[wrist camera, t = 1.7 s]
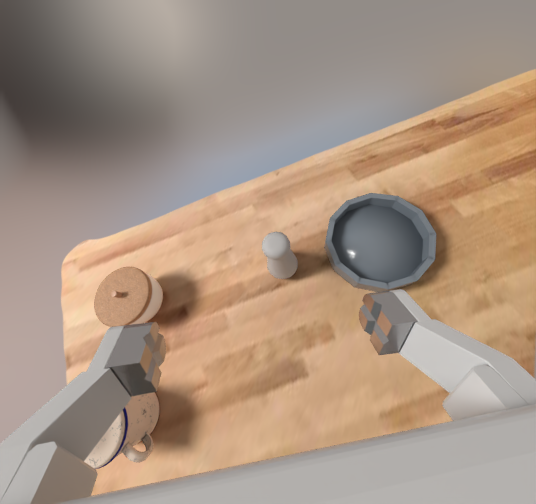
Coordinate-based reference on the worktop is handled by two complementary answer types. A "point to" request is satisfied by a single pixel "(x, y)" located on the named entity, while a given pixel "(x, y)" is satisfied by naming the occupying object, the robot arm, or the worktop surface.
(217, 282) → the worktop surface
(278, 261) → the salt shaker
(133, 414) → the teacup with lid
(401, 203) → the bowl
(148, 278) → the lidded jar
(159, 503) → the robot arm
